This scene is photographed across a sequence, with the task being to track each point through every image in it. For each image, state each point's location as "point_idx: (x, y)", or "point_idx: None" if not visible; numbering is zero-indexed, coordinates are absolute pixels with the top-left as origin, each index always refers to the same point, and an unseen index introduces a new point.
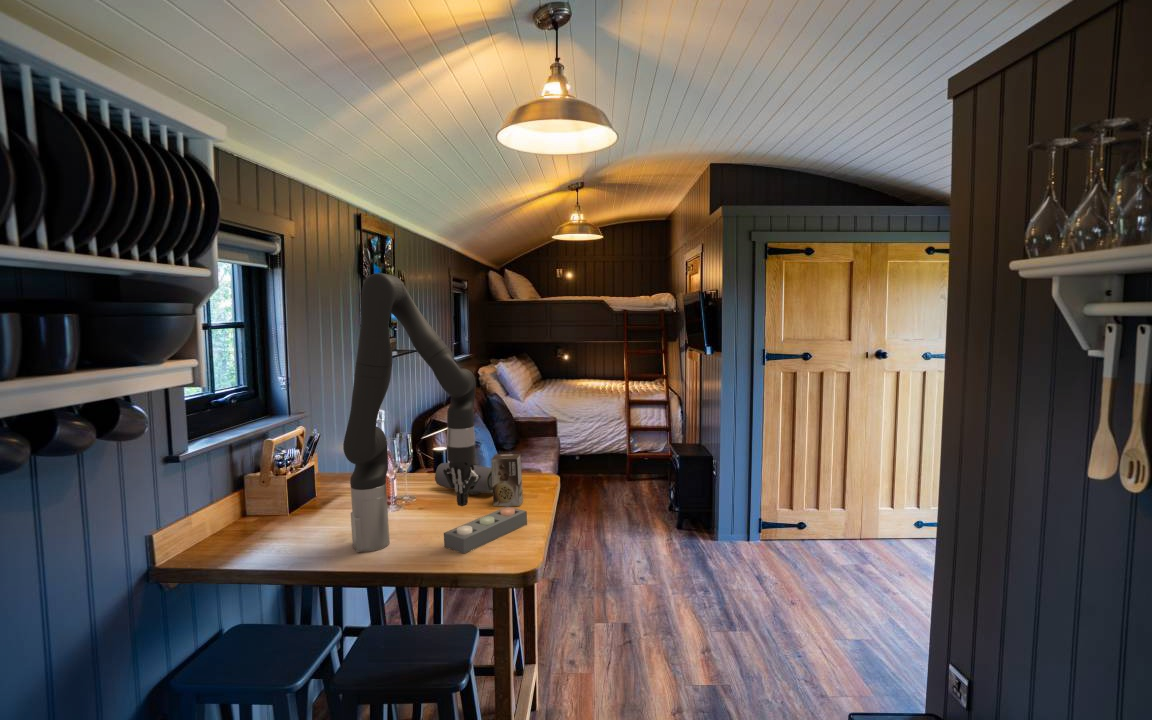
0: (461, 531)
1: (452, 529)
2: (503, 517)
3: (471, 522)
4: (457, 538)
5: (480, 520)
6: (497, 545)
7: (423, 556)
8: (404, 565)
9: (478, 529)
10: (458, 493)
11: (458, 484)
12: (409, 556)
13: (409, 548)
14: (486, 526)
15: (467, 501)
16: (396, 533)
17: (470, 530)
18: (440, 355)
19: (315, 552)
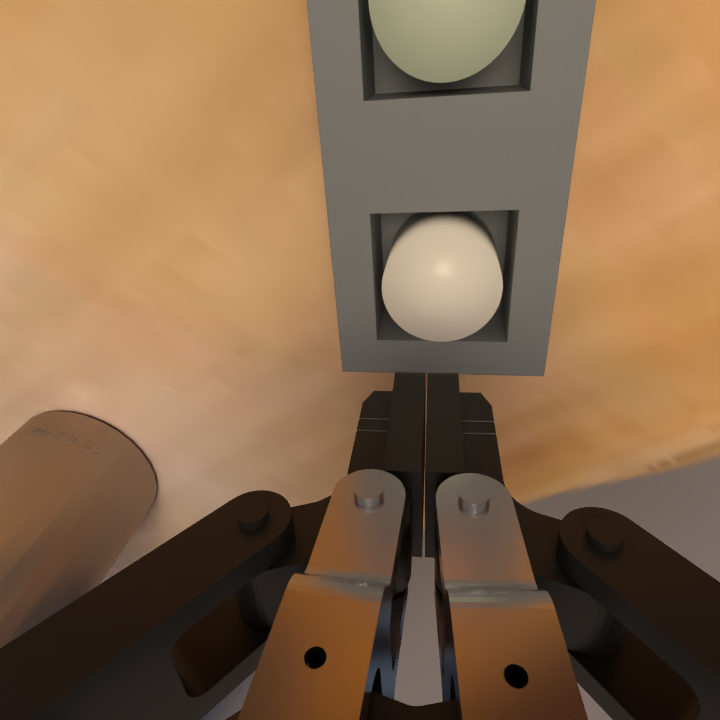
0: (464, 336)
1: (339, 304)
2: None
3: (341, 119)
4: (479, 369)
5: (420, 75)
6: (657, 109)
7: None
8: None
9: (515, 196)
10: (412, 549)
11: (393, 664)
12: (313, 464)
13: (233, 417)
14: (532, 100)
15: (491, 411)
16: (8, 342)
17: (501, 279)
18: None
19: None
